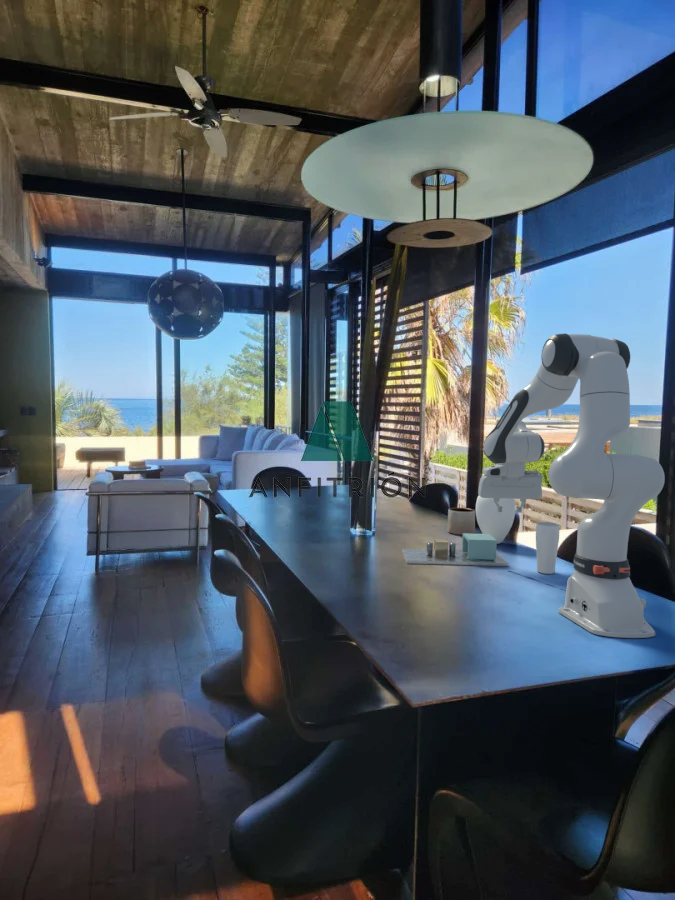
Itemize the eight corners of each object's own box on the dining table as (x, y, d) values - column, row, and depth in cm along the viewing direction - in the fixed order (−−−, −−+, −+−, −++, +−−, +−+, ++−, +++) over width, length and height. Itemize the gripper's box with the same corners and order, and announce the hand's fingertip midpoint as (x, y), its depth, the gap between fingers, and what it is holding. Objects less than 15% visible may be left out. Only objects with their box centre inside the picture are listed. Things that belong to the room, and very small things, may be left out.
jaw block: (447, 557, 192) (448, 542, 192) (435, 556, 192) (436, 541, 192) (445, 554, 196) (446, 539, 196) (433, 553, 196) (434, 539, 196)
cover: (496, 559, 189) (496, 540, 188) (468, 558, 189) (468, 539, 189) (488, 552, 199) (489, 534, 198) (462, 551, 199) (462, 533, 199)
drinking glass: (559, 576, 176) (561, 526, 175) (535, 574, 177) (537, 525, 176) (555, 570, 182) (557, 522, 181) (532, 568, 184) (534, 521, 183)
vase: (499, 538, 229) (502, 467, 227) (522, 546, 215) (525, 470, 214) (467, 540, 224) (469, 467, 223) (488, 548, 211) (491, 470, 209)
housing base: (507, 566, 186) (508, 550, 186) (406, 563, 187) (407, 547, 186) (495, 554, 202) (495, 539, 202) (402, 551, 202) (402, 537, 202)
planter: (477, 536, 232) (478, 512, 232) (449, 535, 233) (450, 511, 232) (471, 530, 243) (472, 507, 243) (445, 530, 243) (445, 507, 243)
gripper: (539, 470, 195) (537, 511, 196) (477, 468, 195) (476, 509, 196) (545, 471, 189) (544, 514, 189) (482, 470, 189) (480, 512, 190)
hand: (509, 512), depth 193 cm, fingers open, 5 cm apart
